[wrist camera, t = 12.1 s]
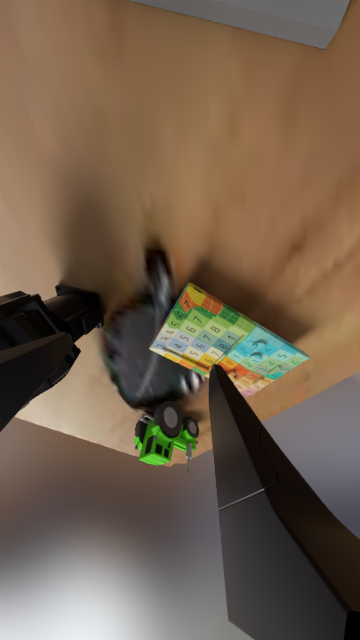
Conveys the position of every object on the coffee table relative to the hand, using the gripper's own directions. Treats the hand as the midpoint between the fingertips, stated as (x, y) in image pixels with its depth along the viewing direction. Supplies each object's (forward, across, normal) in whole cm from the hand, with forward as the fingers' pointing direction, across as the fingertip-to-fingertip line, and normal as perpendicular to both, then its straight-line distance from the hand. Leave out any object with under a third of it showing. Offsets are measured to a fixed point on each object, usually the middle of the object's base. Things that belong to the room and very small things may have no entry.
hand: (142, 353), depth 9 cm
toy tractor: (+13, -5, +35) cm, 37 cm away
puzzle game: (+14, -10, +7) cm, 18 cm away
